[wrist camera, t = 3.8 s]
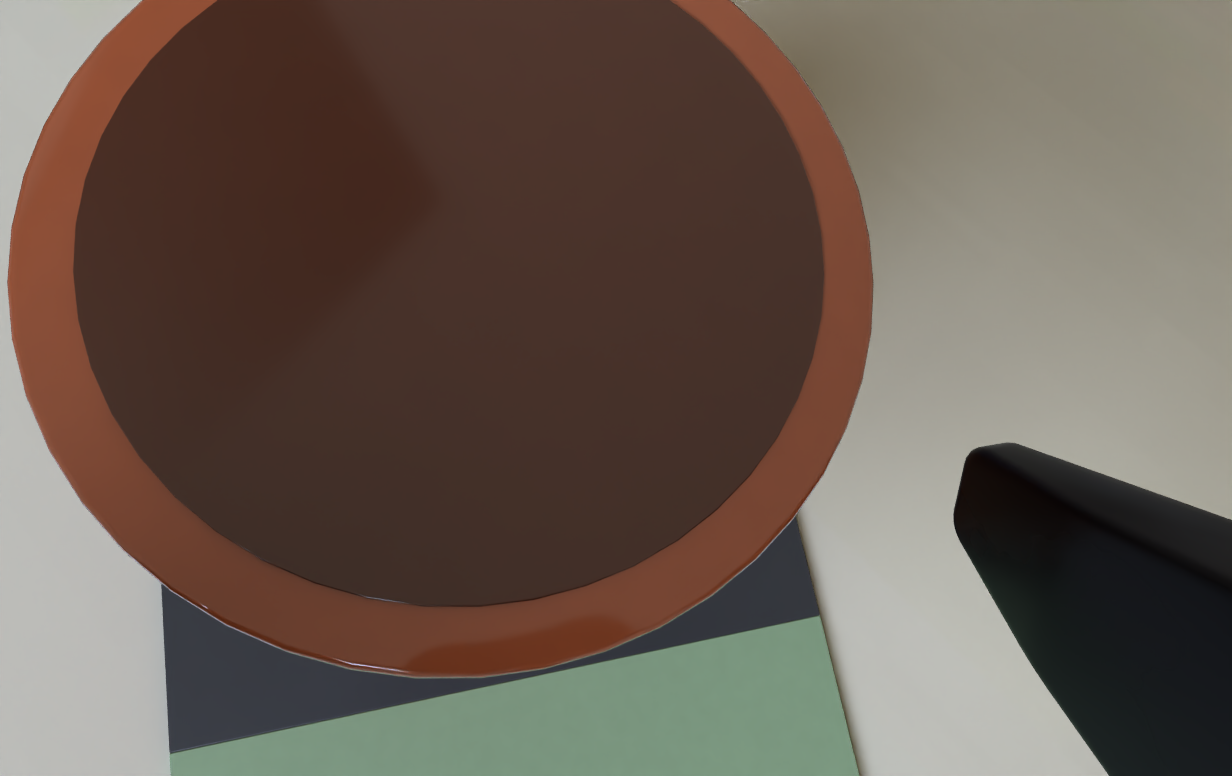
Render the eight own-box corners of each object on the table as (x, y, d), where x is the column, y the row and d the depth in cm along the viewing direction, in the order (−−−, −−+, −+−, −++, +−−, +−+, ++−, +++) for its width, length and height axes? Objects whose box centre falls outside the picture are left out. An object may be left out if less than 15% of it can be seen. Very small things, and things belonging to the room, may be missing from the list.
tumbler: (681, 606, 17) (980, 577, 7) (330, 677, 16) (-1, 784, 5) (617, 295, 19) (772, -123, 8) (297, 335, 17) (-2, -100, 7)
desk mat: (958, 1195, 15) (965, 1202, 15) (209, 1472, 13) (204, 1485, 12) (711, 185, 20) (713, 181, 20) (147, 243, 18) (144, 238, 18)
